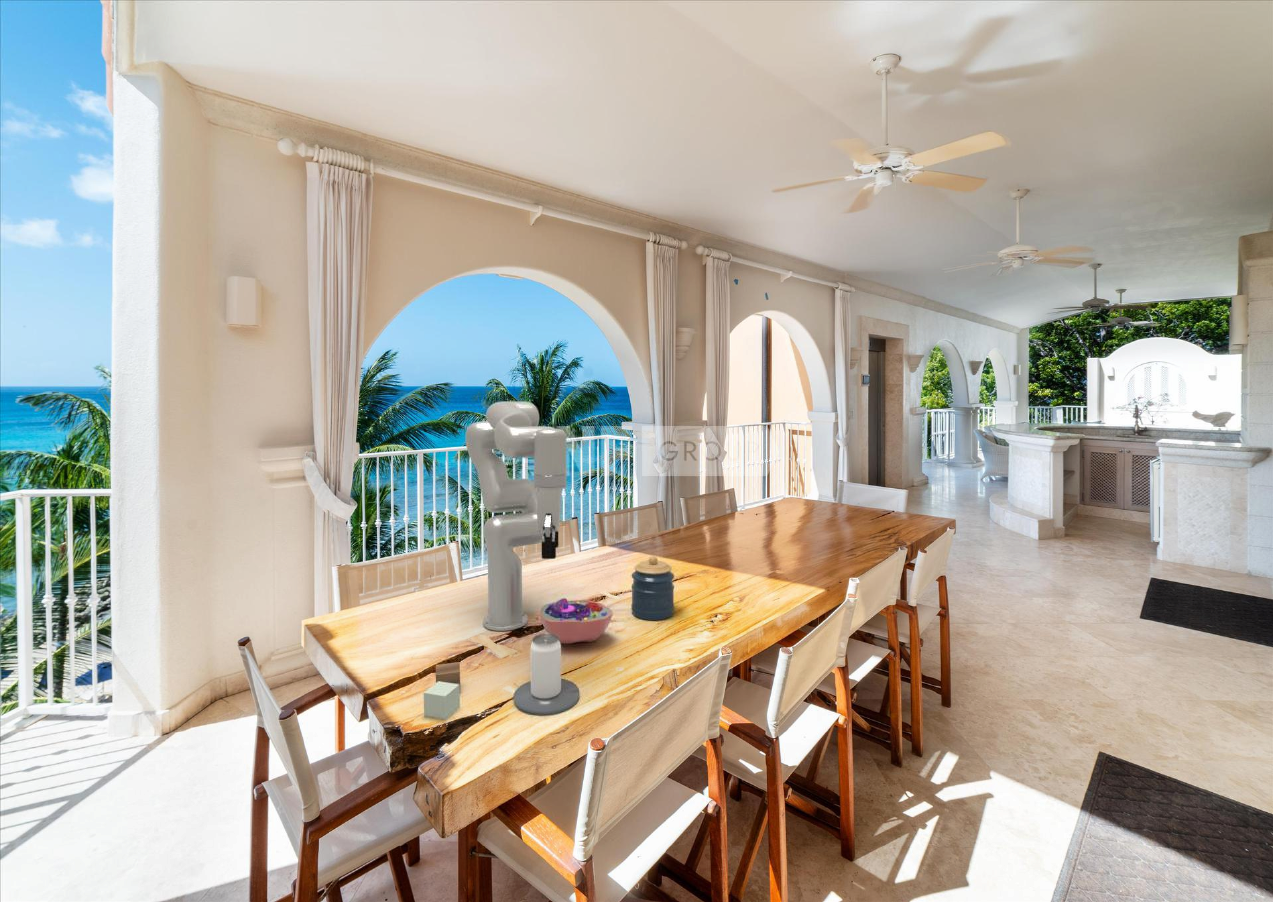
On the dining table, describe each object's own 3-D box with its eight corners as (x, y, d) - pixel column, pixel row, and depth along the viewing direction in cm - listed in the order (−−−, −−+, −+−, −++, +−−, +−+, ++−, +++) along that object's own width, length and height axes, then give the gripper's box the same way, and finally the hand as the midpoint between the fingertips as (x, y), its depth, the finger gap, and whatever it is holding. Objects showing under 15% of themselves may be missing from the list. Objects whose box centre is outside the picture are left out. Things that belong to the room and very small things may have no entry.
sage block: (439, 703, 119) (438, 681, 119) (459, 707, 118) (459, 684, 118) (424, 716, 115) (423, 692, 114) (445, 720, 113) (445, 696, 113)
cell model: (603, 657, 142) (603, 613, 141) (528, 650, 146) (527, 607, 145) (619, 631, 158) (619, 591, 157) (551, 625, 162) (550, 586, 161)
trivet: (517, 682, 128) (517, 678, 128) (579, 680, 130) (579, 676, 130) (509, 716, 115) (509, 711, 115) (578, 713, 116) (578, 709, 116)
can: (562, 684, 126) (562, 632, 125) (559, 700, 119) (558, 645, 118) (533, 684, 126) (533, 632, 125) (528, 699, 119) (527, 644, 118)
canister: (626, 608, 176) (626, 552, 175) (665, 603, 180) (665, 549, 179) (638, 623, 164) (639, 563, 162) (680, 618, 168) (681, 560, 166)
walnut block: (436, 686, 127) (435, 664, 126) (459, 683, 128) (459, 661, 128) (436, 697, 122) (435, 675, 122) (460, 693, 124) (459, 671, 123)
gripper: (537, 476, 141) (537, 543, 143) (530, 487, 124) (530, 563, 126) (567, 476, 142) (567, 543, 143) (564, 487, 125) (564, 563, 126)
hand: (550, 552), depth 135 cm, fingers open, 9 cm apart
